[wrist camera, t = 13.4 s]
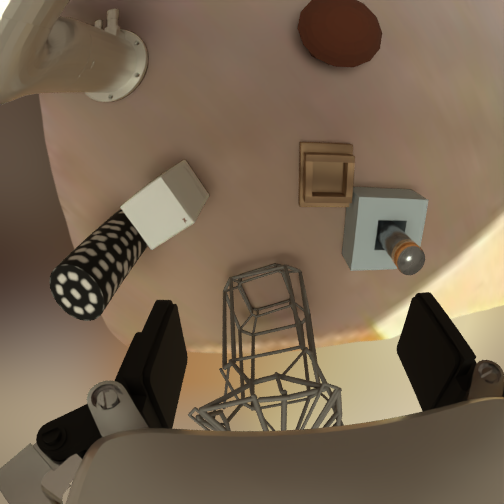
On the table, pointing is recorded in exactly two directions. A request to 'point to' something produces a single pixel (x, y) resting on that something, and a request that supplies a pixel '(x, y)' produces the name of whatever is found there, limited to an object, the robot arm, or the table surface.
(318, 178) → the mount
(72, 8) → the table surface
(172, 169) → the supplement box
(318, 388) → the geometric lantern
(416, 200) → the socket
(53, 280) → the spotted tube
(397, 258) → the pin
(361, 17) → the muffin
